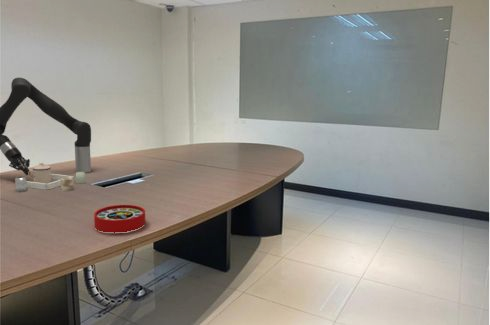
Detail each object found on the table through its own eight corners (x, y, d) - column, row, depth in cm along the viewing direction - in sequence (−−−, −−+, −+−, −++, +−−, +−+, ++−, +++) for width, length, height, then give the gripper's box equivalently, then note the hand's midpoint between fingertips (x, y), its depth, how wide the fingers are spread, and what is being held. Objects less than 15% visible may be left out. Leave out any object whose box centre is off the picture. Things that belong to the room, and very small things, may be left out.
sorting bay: (21, 186, 199) (20, 181, 199) (50, 178, 219) (50, 173, 218) (47, 189, 195) (46, 184, 194) (74, 181, 215) (74, 176, 214)
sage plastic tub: (85, 181, 216) (85, 171, 215) (85, 183, 211) (84, 173, 210) (76, 181, 214) (75, 172, 213) (75, 183, 209) (75, 173, 208)
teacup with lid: (54, 180, 214) (52, 161, 212) (47, 184, 205) (46, 164, 203) (32, 180, 212) (31, 161, 210) (25, 184, 204) (23, 164, 201)
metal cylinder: (28, 189, 195) (27, 176, 193) (26, 191, 190) (25, 178, 189) (17, 189, 193) (16, 177, 192) (15, 192, 188) (14, 179, 187)
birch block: (70, 187, 201) (70, 177, 200) (73, 189, 197) (72, 179, 196) (61, 189, 198) (60, 178, 197) (63, 191, 194) (63, 180, 193)
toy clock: (135, 202, 163) (152, 215, 147) (135, 214, 164) (152, 228, 148) (88, 209, 151) (101, 224, 135) (88, 222, 152) (102, 238, 136)
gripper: (17, 153, 217) (34, 176, 216) (-4, 157, 204) (15, 180, 203) (23, 146, 214) (41, 168, 213) (3, 148, 202) (22, 172, 201)
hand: (28, 174), depth 208 cm, fingers closed
